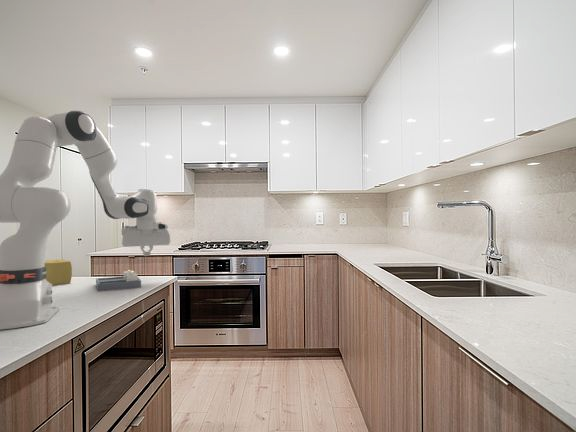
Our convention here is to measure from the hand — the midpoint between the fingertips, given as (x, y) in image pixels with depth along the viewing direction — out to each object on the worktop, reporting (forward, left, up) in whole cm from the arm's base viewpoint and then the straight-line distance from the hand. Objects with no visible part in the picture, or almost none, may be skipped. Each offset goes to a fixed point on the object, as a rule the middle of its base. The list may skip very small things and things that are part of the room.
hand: (146, 255), depth 159 cm
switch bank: (-4, +12, -12) cm, 17 cm away
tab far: (0, +7, -10) cm, 13 cm away
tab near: (-8, +7, -10) cm, 15 cm away
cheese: (+15, +36, -12) cm, 40 cm away
